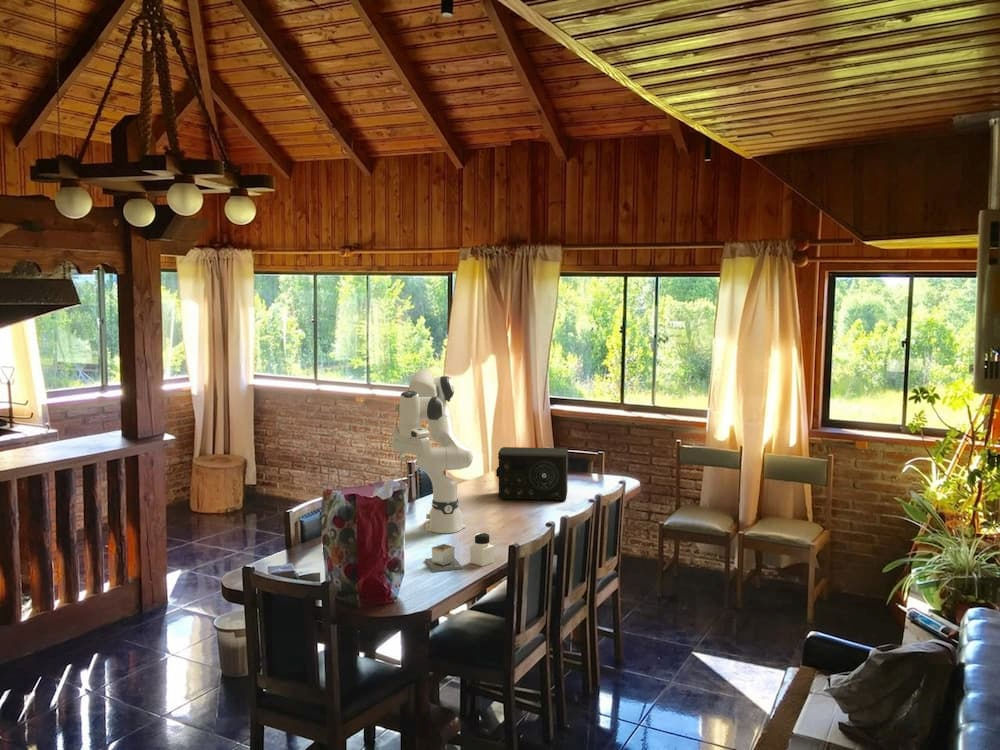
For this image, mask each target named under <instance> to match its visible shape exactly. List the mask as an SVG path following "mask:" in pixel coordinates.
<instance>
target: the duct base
mask: <svg viewBox="0 0 1000 750" xmlns="http://www.w3.org/2000/svg"><path fill="white" fill-rule="evenodd" d="M424 562H425V563H426V565H427V566H428V568H429V569H430V571H431V572H432V573H436V572H437V573H438V572H439V573H440V572H446V571H447V572H449V571H454V570H455V571H457V570H462V569H463V566H462V565H461V564H460V563H459V561H458V560H457V558H456V557H454V562H451V563H448V564H445V565H441V564H438V563H434V562H432V557H429V558H428V557H427V558H424Z"/></svg>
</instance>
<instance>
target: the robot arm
mask: <svg viewBox="0 0 1000 750" xmlns="http://www.w3.org/2000/svg"><path fill="white" fill-rule="evenodd" d="M454 394H455V385H454V381H453V380H452V379H451V377H449V376H447V375H443V376H440V377H435V376H434V374H433V372H431V371H430V370H428V369H424V368H423V369H420V370H417V372H415V373H414V375H413V376H412V377H411V379H410V381H409V385H408V390H407V391H403V392H402V393H400V397H399V402H398V407H397V408H398V409H397V411H398V412H397V413H398V415H399V427H397V428H395V429H394V430H393V435H392V441H391V448H392V450H394V451H397V452H398V455H399V458H400V462H401V463H405V462H407V457H406V456H405V454H404V453H407V454H413V455H416V460H415V465H416V466H418V467H419V469H420V470H421V471H423V472H424V473H425V474H427V475H428V477H429V479H430V481H431V485H432V493H433V494H432V496H433V497H432V502H431V509H430V510H429V513H426V514H425V517H426V520H425V521H424V529H425V532H428V533H430V532H431V533H435V534H453V533H457V532H459V531H461V530H463V529H465V528H466V525H465V524H464V523H463V518H462V515H463V513H462V510H461V509H460V508H459V498H458V484H457V481H456V480H455V479H454V478H452V477H449V476H447V475H445V473H444V472H445V471H455V470H458V471H459V470H462V469H466V468H469V467H470V466H471V464H472V462H473V459H474V458H473V457H474V456H473V453H472V451H471V449H470V448H469V447H468V446H466V445H465V444H463V443H462V442H461V441H460V440H459V439H458V438H457V436H456V434H455V431H454V427H453V426H454V425H453V419H452V414H451V411H450V407H449V405H448V403H450V401H451V399H452V398H453V396H454ZM421 420H427V421H428V429H426V428H425V427H424V426H422V424H421ZM429 436H430V438H429ZM430 439H431V440H432V441H433V442H434V443H436V444H439V445H440V446H431V444H430V443H431V442H430Z"/></svg>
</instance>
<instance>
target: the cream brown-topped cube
mask: <svg viewBox="0 0 1000 750" xmlns="http://www.w3.org/2000/svg"><path fill="white" fill-rule="evenodd" d="M455 548H456V547H455V546H452V545H449V544H445V543H442V544H438V545H436V546H432V547H431V558H432V562H434V563H438V564H441V565H445V564H448V563H451V562H454V558H455Z"/></svg>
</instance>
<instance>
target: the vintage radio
mask: <svg viewBox="0 0 1000 750" xmlns="http://www.w3.org/2000/svg"><path fill="white" fill-rule="evenodd" d="M497 455H498V456H497V459H498V467H497V468H496V471H495V473H496V474H495V476H496V477H497V479H498V498H499V499H502V500H503V501H506V500H539V501H540V500H543V501H545V500H546V501H557V502H562V501H566V500H567V495H568V469H569V448H565V447H560V448H558V447H525V446H523V447H521V446H519V447H517V446H515V447H514V446H511V447H510V446H509V447H508V446H503V447H500V449H499V451H498V454H497Z"/></svg>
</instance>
